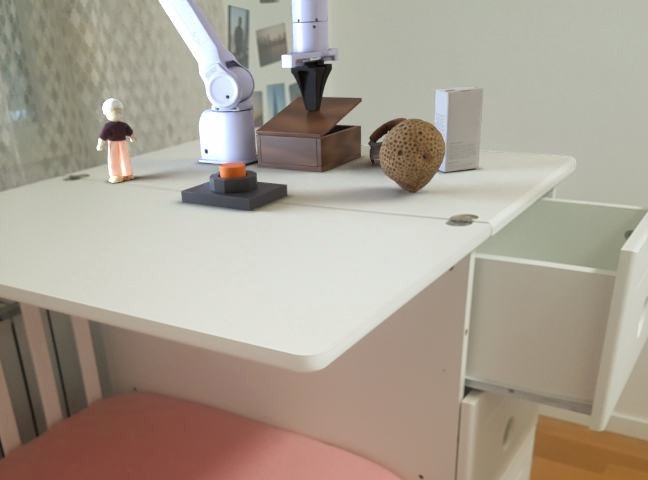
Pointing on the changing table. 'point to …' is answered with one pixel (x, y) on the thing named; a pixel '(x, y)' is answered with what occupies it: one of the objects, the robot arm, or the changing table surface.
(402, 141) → the natural sponge
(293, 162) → the chest
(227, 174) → the button
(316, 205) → the changing table surface
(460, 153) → the cosmetic box
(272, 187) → the switch block
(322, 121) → the lid
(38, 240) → the changing table surface
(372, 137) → the pottery mug
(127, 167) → the grandmother figurine
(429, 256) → the changing table surface
